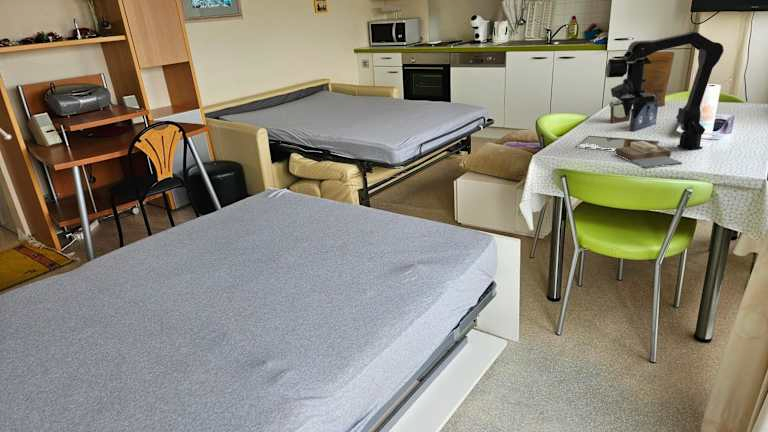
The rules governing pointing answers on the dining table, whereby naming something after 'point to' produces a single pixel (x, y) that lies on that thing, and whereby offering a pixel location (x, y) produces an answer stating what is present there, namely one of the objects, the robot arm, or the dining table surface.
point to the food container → (618, 112)
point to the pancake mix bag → (658, 75)
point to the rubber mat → (656, 161)
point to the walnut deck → (641, 153)
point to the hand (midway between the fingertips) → (630, 117)
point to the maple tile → (643, 147)
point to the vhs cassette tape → (644, 117)
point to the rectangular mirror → (611, 142)
